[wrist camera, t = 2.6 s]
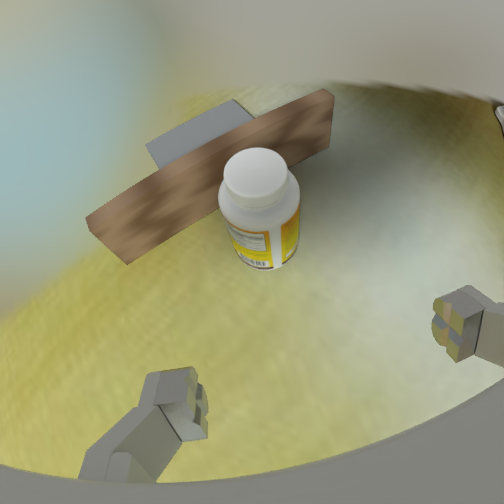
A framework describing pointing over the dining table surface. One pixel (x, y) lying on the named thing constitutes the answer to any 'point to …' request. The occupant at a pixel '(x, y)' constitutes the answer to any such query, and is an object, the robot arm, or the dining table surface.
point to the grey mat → (197, 132)
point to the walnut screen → (206, 177)
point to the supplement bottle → (261, 208)
